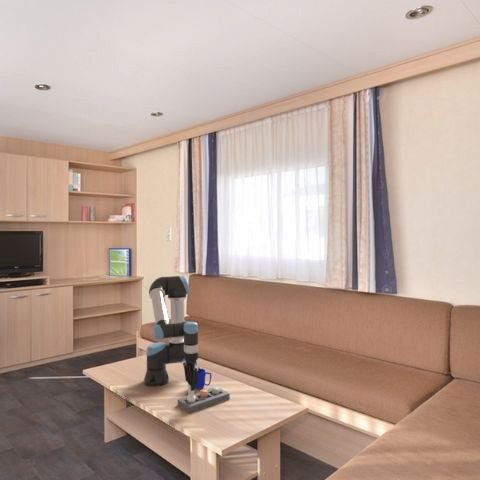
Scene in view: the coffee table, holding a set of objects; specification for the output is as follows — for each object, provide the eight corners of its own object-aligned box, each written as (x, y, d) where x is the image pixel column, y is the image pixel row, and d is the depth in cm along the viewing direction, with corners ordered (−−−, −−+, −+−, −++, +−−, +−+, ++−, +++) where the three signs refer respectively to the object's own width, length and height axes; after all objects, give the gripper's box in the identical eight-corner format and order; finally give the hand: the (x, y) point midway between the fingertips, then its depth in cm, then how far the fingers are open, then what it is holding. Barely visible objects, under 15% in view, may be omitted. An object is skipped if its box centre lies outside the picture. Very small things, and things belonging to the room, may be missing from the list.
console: (177, 405, 208) (177, 399, 208) (216, 392, 225) (216, 386, 225) (189, 412, 199) (189, 407, 199) (229, 398, 216) (229, 393, 216)
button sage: (210, 393, 217) (210, 388, 217) (216, 391, 220) (216, 386, 220) (214, 396, 214) (214, 390, 214) (221, 394, 217) (221, 388, 217)
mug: (209, 391, 226) (209, 374, 226) (189, 389, 229) (189, 372, 228) (213, 385, 234) (213, 369, 234) (194, 384, 237) (193, 368, 237)
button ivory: (185, 401, 207) (185, 396, 207) (192, 399, 210) (192, 394, 210) (190, 404, 204) (190, 398, 204) (197, 402, 207) (197, 396, 207)
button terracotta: (198, 396, 212) (198, 390, 212) (205, 394, 215) (204, 388, 215) (202, 398, 209) (202, 393, 209) (209, 396, 212) (209, 391, 212)
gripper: (178, 350, 209) (178, 394, 209) (191, 356, 199) (192, 402, 199) (190, 347, 214) (190, 390, 214) (203, 353, 204) (204, 398, 204)
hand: (191, 396), depth 207 cm, fingers closed
